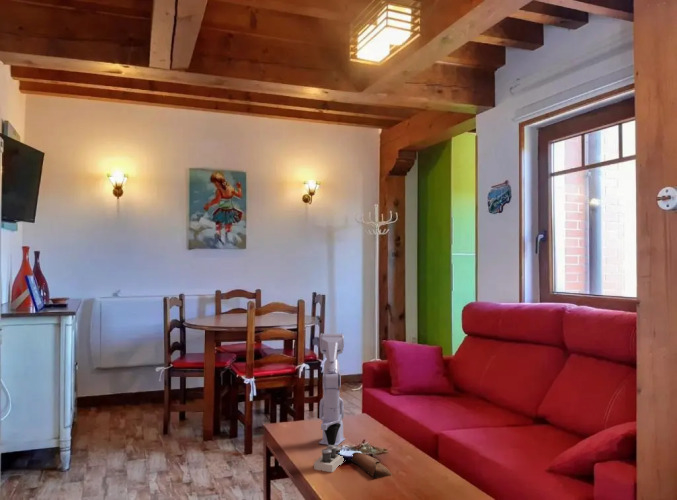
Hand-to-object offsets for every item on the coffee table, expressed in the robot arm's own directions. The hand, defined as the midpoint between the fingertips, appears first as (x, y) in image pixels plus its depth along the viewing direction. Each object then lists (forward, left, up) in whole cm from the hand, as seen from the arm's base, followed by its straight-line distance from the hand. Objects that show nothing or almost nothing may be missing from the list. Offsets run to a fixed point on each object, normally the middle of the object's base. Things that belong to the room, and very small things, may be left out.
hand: (331, 444), depth 197 cm
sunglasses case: (-2, +15, -8) cm, 17 cm away
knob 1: (+4, 0, -4) cm, 6 cm away
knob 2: (-5, 0, -6) cm, 8 cm away
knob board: (0, 0, -7) cm, 7 cm away
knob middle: (0, 0, -4) cm, 4 cm away
